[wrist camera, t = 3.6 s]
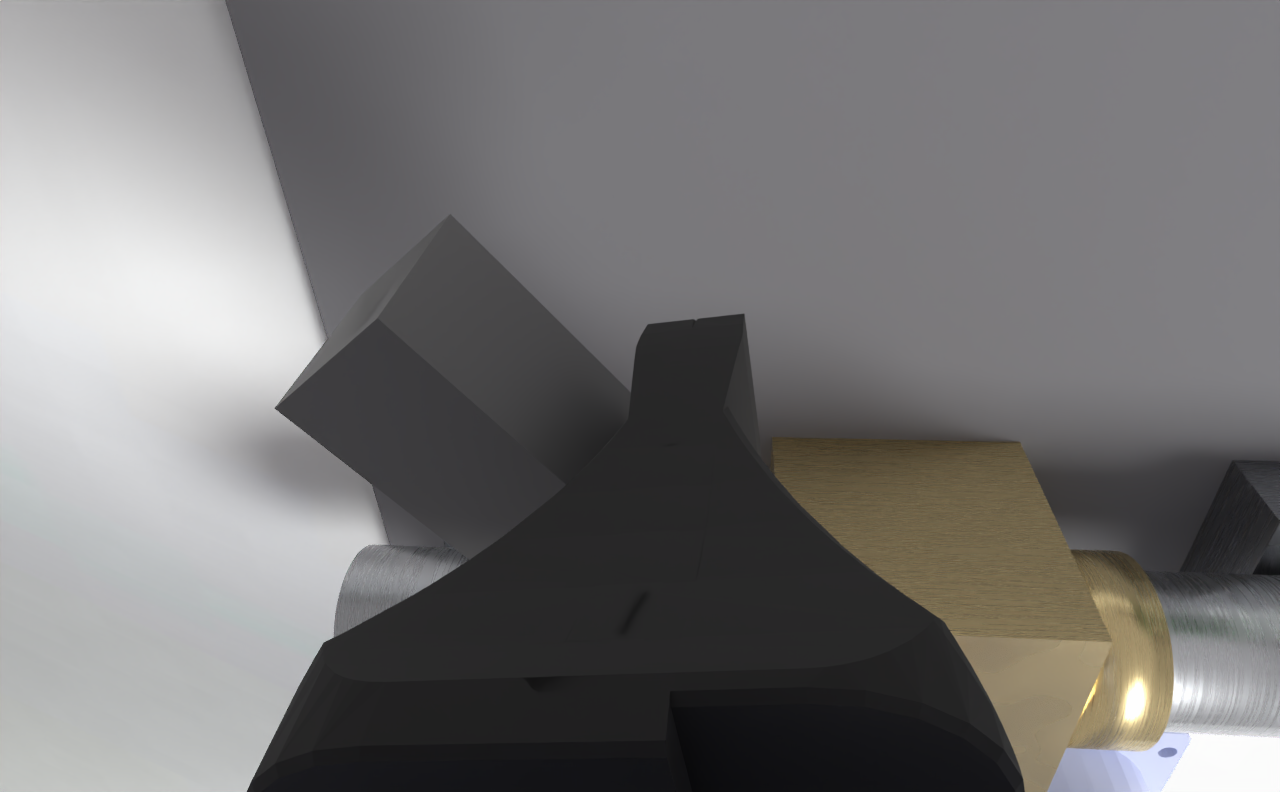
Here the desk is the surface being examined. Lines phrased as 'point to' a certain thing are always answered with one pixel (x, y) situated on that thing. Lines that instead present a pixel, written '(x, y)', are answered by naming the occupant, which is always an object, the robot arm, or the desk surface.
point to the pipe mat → (839, 209)
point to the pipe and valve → (1021, 592)
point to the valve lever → (457, 393)
